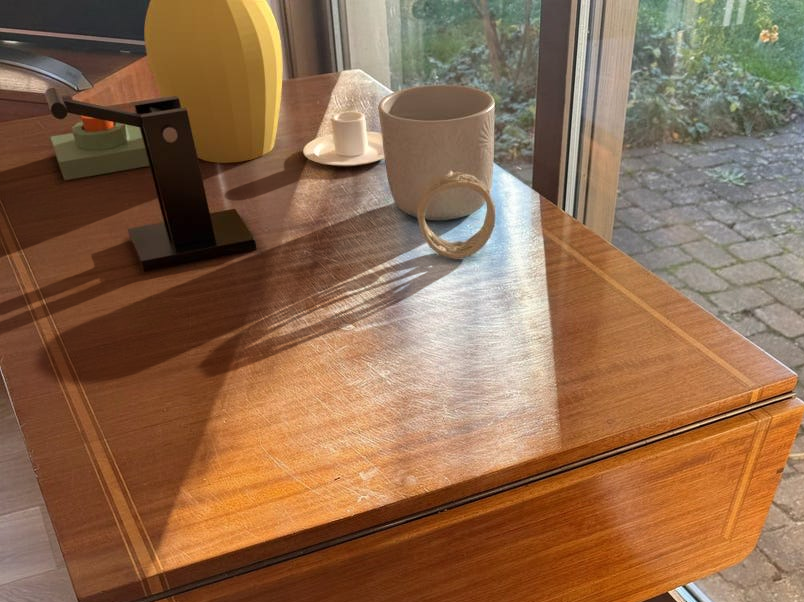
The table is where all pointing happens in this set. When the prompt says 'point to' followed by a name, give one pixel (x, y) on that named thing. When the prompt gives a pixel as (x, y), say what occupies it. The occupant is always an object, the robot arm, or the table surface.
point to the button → (96, 124)
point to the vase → (219, 72)
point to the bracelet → (459, 248)
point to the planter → (437, 145)
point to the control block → (99, 150)
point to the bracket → (181, 197)
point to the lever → (91, 110)
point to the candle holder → (346, 143)
